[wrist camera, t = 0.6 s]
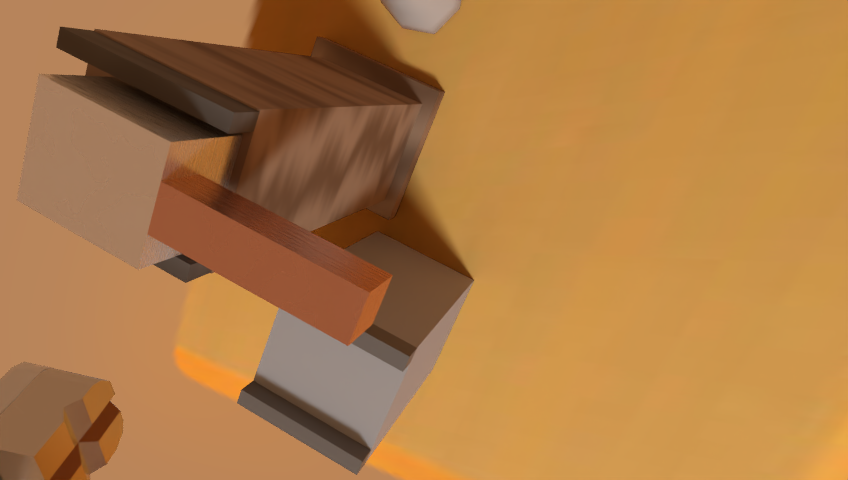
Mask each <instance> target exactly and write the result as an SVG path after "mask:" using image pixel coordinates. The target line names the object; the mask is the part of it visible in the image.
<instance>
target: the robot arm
mask: <svg viewBox="0 0 848 480" xmlns="http://www.w3.org/2000/svg"><path fill="white" fill-rule="evenodd" d="M114 395H115V392H114V390H113V387H112V385H111V382H110V381H107V380H103V379H98V378H94V377H89V376H84V375H80V374H76V373H72V372H67V371H62V370H58V369H54V368H51V367H46V366H41V365H36V364H32V363H27V362H23V363H20V364H19V365H16V366H14V367H12V368H11V369H10V370H9V371H8V372H7V373H6V374H5V375H4V376H3V377H2V378H1V379H0V480H90V474H91V473H92V472H94V471H96V470H98V469H99V468H101V467H103V466H104V465H106V464H107V463H108V461H109V460H110V458H111V457H112V455H113V454H114V452H115V451H116V449H117V447H118V444H119V441H120V438H121V436H122V433H123V418H122V415H121V411H120V410H119V409H118V408H117V407H115V405H114V404H112V403H111V401H110V400H111V399H112V397H113V396H114Z"/></svg>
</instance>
